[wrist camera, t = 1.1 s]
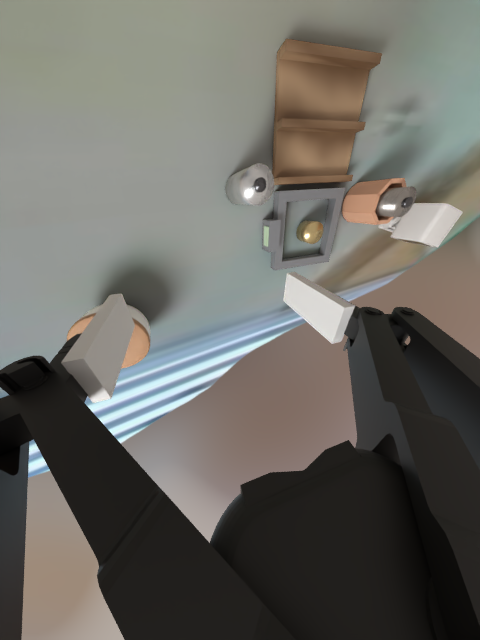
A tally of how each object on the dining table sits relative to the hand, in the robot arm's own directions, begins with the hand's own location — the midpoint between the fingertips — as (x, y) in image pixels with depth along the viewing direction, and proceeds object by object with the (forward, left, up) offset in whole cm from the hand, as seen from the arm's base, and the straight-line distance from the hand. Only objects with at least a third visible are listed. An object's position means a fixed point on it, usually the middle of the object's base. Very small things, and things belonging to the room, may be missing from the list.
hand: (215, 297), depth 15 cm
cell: (-8, +8, -20) cm, 24 cm away
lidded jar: (+11, -16, -21) cm, 28 cm away
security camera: (-1, +44, -21) cm, 49 cm away
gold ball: (-1, +21, -21) cm, 30 cm away
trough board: (-15, +21, -20) cm, 33 cm away
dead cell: (-5, +33, -20) cm, 39 cm away
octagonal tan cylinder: (-5, +33, -20) cm, 39 cm away
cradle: (-1, +20, -20) cm, 29 cm away
